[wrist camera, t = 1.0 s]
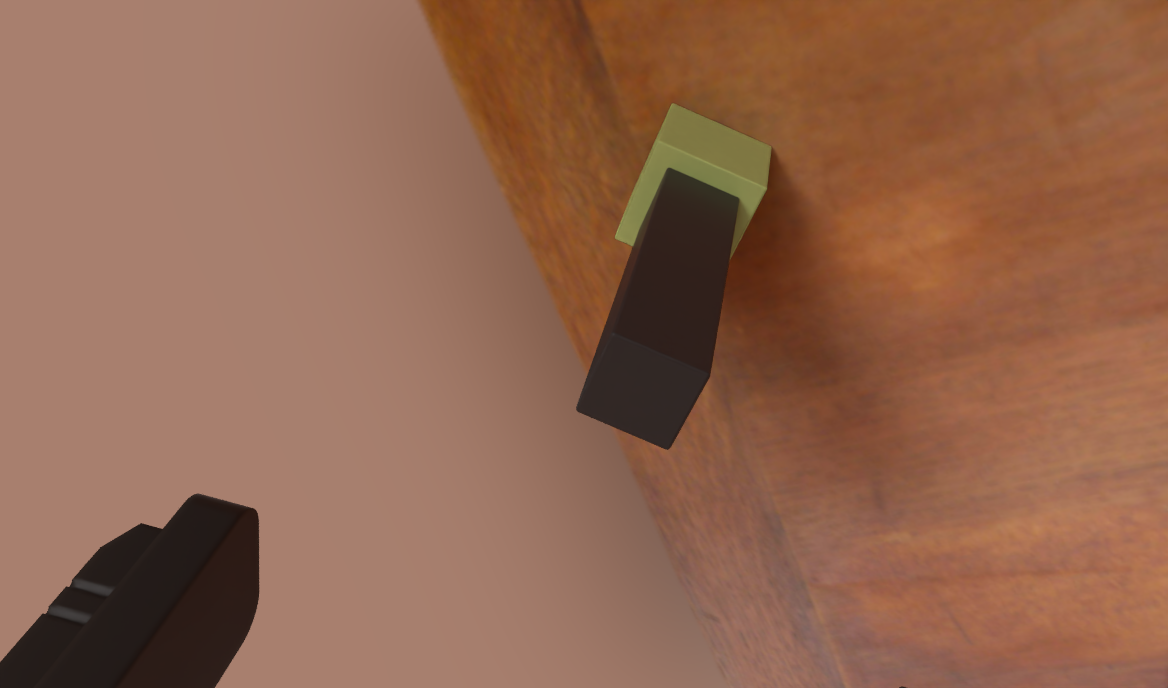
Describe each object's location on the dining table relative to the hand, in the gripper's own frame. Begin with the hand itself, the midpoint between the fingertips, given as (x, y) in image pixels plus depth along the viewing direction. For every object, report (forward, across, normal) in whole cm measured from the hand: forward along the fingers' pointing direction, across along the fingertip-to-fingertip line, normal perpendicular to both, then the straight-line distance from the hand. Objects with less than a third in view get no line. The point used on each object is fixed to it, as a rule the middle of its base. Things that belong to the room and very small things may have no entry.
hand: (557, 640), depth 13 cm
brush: (+24, 0, +3) cm, 24 cm away
